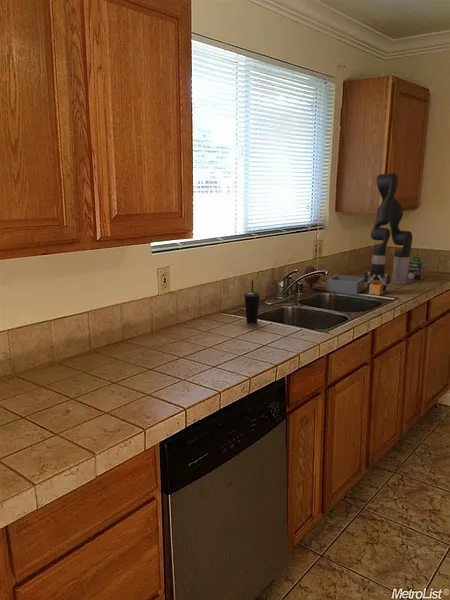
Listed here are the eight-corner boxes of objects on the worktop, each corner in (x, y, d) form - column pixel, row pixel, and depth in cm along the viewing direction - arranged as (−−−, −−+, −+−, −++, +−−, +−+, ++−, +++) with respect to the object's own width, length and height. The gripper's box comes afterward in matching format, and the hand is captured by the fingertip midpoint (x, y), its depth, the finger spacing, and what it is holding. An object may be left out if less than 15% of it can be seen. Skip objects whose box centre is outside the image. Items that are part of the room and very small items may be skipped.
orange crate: (373, 291, 305) (374, 281, 303) (383, 292, 302) (384, 282, 300) (368, 294, 296) (369, 284, 295) (379, 295, 293) (380, 285, 292)
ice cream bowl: (321, 292, 299) (322, 267, 296) (302, 292, 300) (303, 267, 296) (318, 288, 310) (319, 264, 306) (300, 288, 310) (301, 264, 306)
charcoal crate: (335, 285, 318) (336, 274, 317) (364, 289, 309) (365, 277, 308) (326, 290, 305) (327, 279, 303) (356, 294, 296) (357, 282, 294)
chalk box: (423, 278, 343) (425, 256, 340) (420, 280, 336) (422, 257, 332) (409, 276, 348) (411, 254, 345) (406, 278, 341) (407, 256, 337)
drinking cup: (248, 325, 234) (249, 282, 229) (240, 321, 240) (241, 279, 236) (263, 323, 237) (264, 281, 232) (254, 319, 244) (255, 278, 239)
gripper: (392, 262, 294) (390, 290, 298) (367, 260, 301) (366, 287, 305) (389, 264, 288) (387, 292, 292) (364, 262, 295) (362, 290, 299)
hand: (376, 290), depth 298 cm, fingers open, 8 cm apart
